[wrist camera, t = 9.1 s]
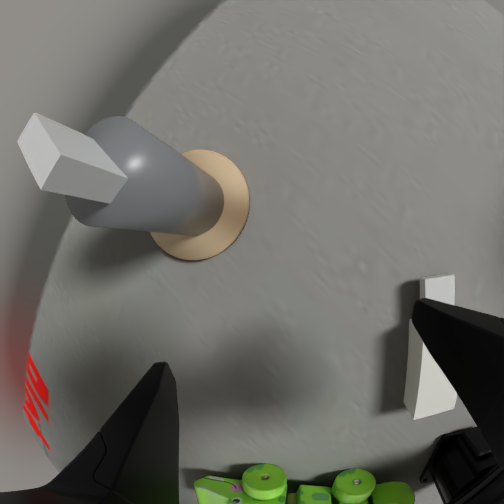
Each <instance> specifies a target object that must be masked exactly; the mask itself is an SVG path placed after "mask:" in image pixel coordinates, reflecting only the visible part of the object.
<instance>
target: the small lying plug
mask: <svg viewBox="0 0 504 504" xmlns="http://www.w3.org/2000/svg"><path fill="white" fill-rule="evenodd" d="M419 279H420V299H421V298H428V299H432V300H436V301H440V302H443V303H447V304H451V305H454V299H455V284H454V275H453V274H448V273H447V274H441V275H434V276H428V277H421V278H419ZM456 398H457V393H456V391H455V390H454V388H453V386H452V385H451V383H450V382H449V380H448V379H447V378H446V376H445V375H444V373H443V372H442V370H441V369H440V367H439V366H438V364H437V363H436V362H435V360H434V359H433V357H432V356H431V354H430V353H429V351H428V349H427V348H426V346H425V344H424V343H423V341H422V339H421V337H420V336H419V334H418V332H417V331H416V329H415V327H414V325H413V323H412V319H409V343H408V361H407V373H406V384H405V392H404V400H403V402H404V404H405V406H406V407H407V409H408V411H409V413H410V414H411V416H412V418H413V420H415V419H419V418H423V417H427V416H431V415H434V414H438V413H441V412H444V411H448V410H451V409H454V407H455V402H456Z"/></svg>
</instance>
